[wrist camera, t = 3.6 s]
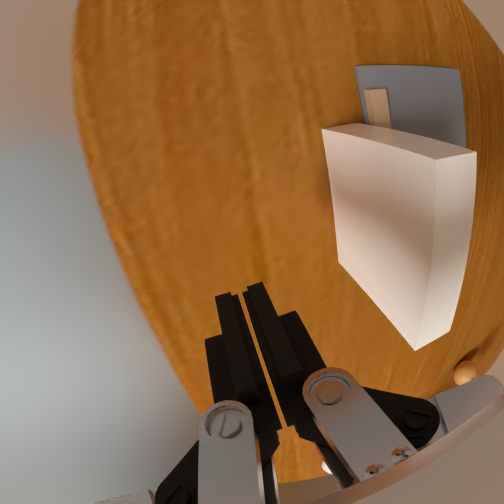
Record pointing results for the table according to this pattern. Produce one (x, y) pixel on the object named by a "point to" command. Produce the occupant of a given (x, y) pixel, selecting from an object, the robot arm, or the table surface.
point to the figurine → (464, 372)
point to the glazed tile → (403, 222)
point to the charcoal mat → (414, 100)
